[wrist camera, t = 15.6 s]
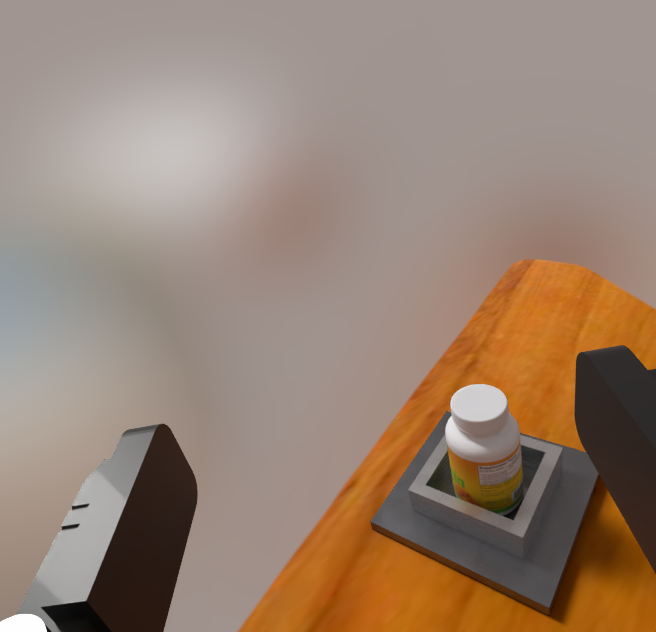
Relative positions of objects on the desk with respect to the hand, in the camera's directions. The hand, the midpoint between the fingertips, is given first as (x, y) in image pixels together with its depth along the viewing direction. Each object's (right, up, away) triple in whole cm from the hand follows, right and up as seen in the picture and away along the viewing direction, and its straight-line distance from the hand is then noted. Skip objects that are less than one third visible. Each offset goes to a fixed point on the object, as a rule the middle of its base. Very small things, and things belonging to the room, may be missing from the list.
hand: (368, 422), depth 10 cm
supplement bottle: (+12, -12, +32) cm, 36 cm away
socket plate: (+12, -13, +32) cm, 37 cm away
